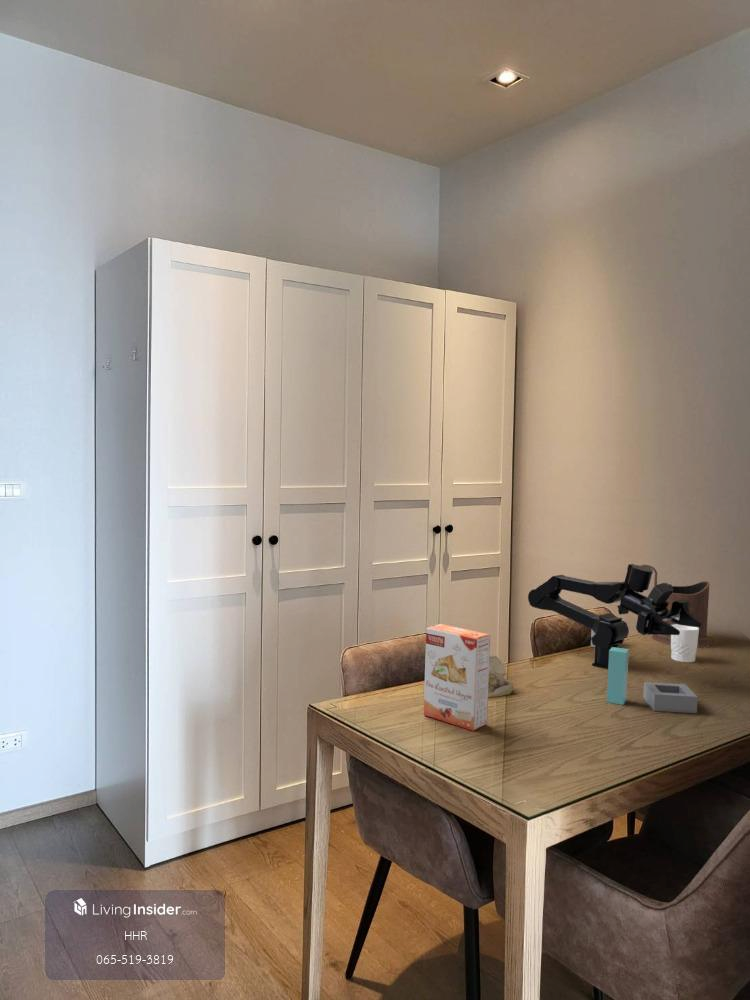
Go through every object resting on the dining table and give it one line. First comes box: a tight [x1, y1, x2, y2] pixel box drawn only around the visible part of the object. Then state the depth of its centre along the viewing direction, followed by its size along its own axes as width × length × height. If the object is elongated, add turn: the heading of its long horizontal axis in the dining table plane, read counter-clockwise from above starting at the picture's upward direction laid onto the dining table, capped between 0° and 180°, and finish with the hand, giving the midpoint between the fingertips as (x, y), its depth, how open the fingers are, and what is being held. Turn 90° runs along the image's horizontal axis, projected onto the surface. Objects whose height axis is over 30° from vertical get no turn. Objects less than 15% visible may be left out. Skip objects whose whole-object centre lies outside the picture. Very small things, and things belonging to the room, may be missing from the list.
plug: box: [606, 647, 630, 706], centre depth 191 cm, size 4×4×13 cm
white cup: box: [670, 624, 699, 663], centre depth 232 cm, size 8×8×10 cm
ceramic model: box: [488, 654, 514, 699], centre depth 197 cm, size 14×11×10 cm
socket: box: [642, 681, 698, 714], centre depth 189 cm, size 10×10×4 cm
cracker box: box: [423, 623, 491, 732], centre depth 174 cm, size 14×6×21 cm, turn 49°
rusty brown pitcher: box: [640, 564, 711, 649], centre depth 255 cm, size 18×24×25 cm
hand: (690, 629), depth 202 cm, fingers open, 9 cm apart
